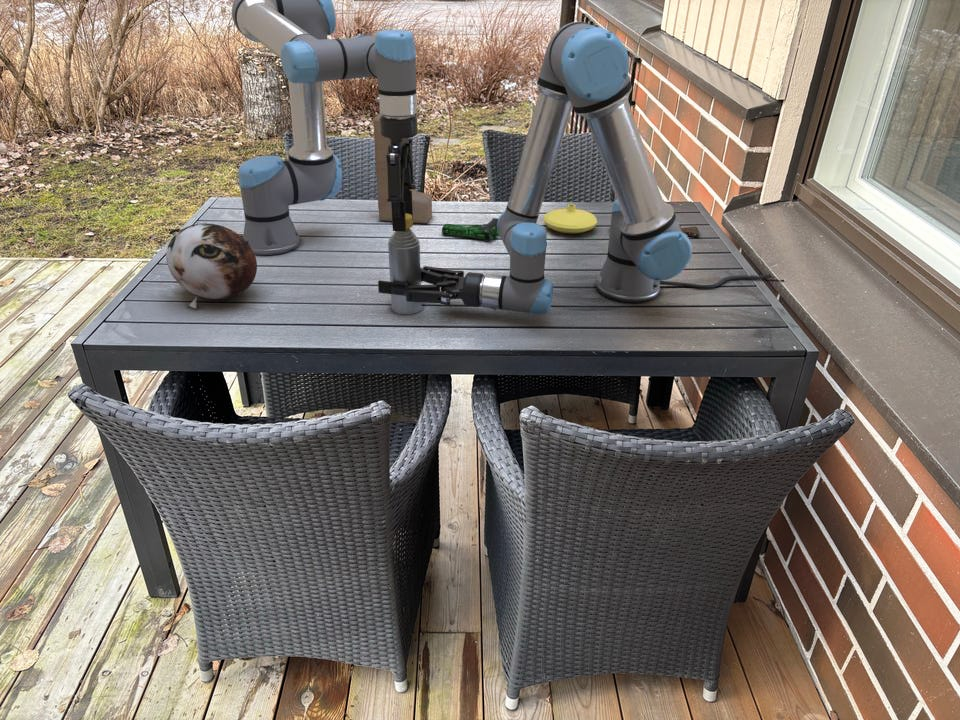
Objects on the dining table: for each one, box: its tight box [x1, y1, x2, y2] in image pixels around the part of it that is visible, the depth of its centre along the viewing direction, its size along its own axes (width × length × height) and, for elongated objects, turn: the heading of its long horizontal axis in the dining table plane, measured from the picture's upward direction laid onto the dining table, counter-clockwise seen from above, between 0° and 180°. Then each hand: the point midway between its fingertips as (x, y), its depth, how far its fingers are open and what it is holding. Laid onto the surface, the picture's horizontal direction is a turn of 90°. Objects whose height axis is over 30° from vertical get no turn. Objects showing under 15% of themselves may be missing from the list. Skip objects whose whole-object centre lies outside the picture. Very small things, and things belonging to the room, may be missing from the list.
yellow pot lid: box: [543, 203, 598, 234], centre depth 209 cm, size 16×16×7 cm
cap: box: [405, 213, 414, 229], centre depth 155 cm, size 4×4×2 cm
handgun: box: [441, 217, 500, 242], centre depth 207 cm, size 16×3×15 cm
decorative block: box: [372, 112, 433, 224], centre depth 209 cm, size 8×15×30 cm, turn 82°
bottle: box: [387, 228, 423, 315], centre depth 160 cm, size 7×7×22 cm
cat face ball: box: [165, 222, 258, 309], centre depth 165 cm, size 22×18×20 cm
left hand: (403, 224), depth 155 cm, fingers open, 6 cm apart
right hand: (384, 279), depth 163 cm, fingers closed on bottle, 7 cm apart
